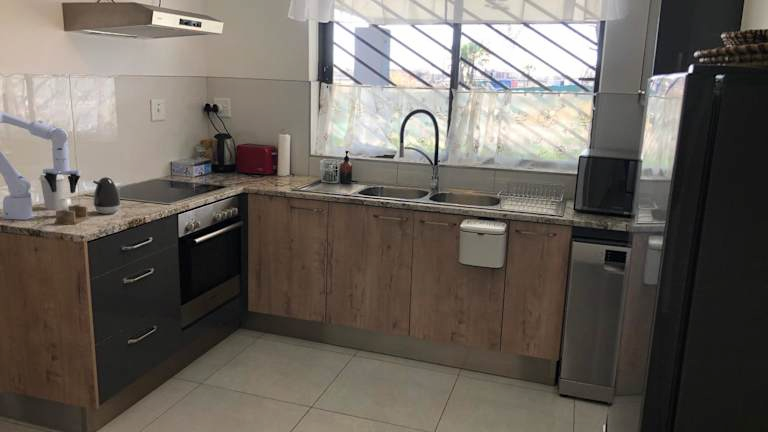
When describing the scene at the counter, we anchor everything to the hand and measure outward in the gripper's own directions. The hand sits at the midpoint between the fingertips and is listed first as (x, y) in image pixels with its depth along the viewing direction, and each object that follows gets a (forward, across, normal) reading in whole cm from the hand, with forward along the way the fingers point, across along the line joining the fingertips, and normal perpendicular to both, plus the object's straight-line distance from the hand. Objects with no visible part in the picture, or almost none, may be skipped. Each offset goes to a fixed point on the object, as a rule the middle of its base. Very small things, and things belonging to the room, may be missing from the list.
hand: (63, 192), depth 243 cm
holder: (+10, +7, -8) cm, 14 cm away
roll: (+10, 0, 0) cm, 10 cm away
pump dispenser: (+10, +13, +9) cm, 19 cm away
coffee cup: (+10, -12, +13) cm, 20 cm away
